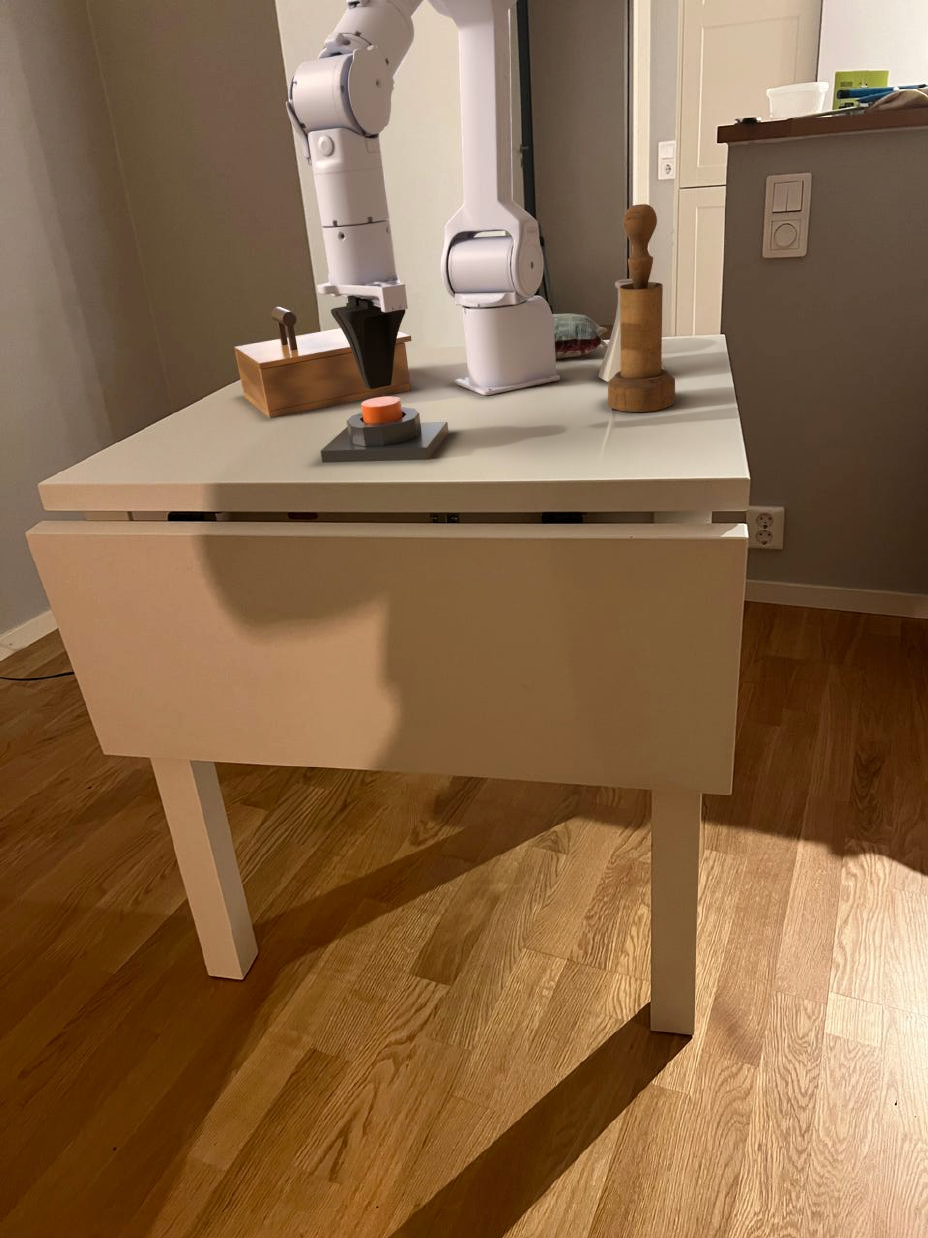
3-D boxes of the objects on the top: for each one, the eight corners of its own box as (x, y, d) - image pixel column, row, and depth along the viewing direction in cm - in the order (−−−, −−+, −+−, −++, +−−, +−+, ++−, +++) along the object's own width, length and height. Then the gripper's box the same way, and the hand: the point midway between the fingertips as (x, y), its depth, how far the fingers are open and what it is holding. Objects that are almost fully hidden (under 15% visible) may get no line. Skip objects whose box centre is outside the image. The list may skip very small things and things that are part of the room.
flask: (662, 366, 104) (662, 272, 99) (668, 382, 97) (669, 282, 93) (597, 371, 105) (594, 278, 100) (599, 387, 98) (596, 288, 94)
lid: (374, 327, 114) (368, 287, 111) (411, 340, 103) (406, 297, 101) (234, 351, 108) (226, 310, 106) (260, 368, 97) (251, 323, 95)
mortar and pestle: (675, 411, 87) (676, 204, 79) (606, 414, 89) (600, 211, 80) (675, 393, 93) (676, 198, 85) (610, 396, 94) (605, 204, 86)
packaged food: (514, 350, 119) (512, 311, 116) (607, 344, 117) (607, 304, 114) (507, 367, 111) (504, 325, 109) (607, 361, 109) (606, 318, 107)
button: (407, 414, 86) (404, 395, 85) (396, 425, 83) (394, 405, 82) (370, 415, 86) (367, 397, 86) (358, 426, 83) (355, 407, 83)
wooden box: (374, 372, 116) (368, 328, 113) (411, 389, 105) (405, 342, 103) (244, 397, 110) (235, 352, 108) (269, 418, 100) (260, 369, 97)
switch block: (448, 433, 88) (445, 402, 87) (428, 460, 81) (424, 427, 80) (350, 437, 90) (345, 406, 89) (322, 463, 83) (316, 431, 82)
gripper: (287, 226, 81) (313, 380, 88) (336, 232, 69) (362, 410, 76) (362, 216, 84) (382, 367, 90) (422, 220, 72) (441, 394, 78)
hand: (378, 386), depth 83 cm, fingers closed
